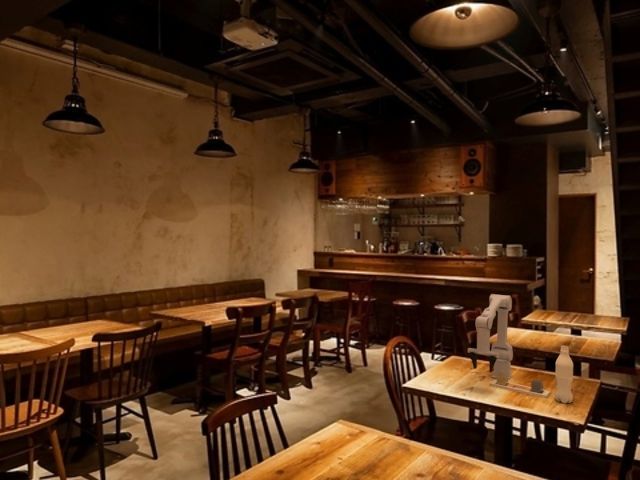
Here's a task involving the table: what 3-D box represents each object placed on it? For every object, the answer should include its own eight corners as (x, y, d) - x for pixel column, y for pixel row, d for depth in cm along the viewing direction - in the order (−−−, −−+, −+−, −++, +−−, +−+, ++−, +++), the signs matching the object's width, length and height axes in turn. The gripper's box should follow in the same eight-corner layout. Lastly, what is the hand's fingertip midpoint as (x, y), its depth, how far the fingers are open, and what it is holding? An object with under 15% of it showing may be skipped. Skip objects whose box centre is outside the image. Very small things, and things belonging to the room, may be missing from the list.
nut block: (533, 391, 219) (533, 379, 219) (542, 393, 217) (542, 380, 217) (531, 393, 216) (531, 381, 216) (540, 395, 214) (540, 382, 214)
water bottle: (572, 400, 208) (573, 345, 208) (573, 405, 202) (574, 348, 201) (554, 397, 211) (555, 343, 211) (555, 402, 205) (556, 347, 204)
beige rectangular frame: (494, 381, 233) (494, 379, 233) (550, 393, 216) (550, 391, 216) (489, 385, 227) (489, 383, 227) (546, 398, 210) (546, 395, 210)
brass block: (499, 384, 230) (499, 372, 229) (507, 386, 227) (508, 374, 227) (496, 386, 226) (497, 374, 226) (505, 388, 224) (505, 375, 224)
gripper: (465, 340, 221) (464, 368, 221) (495, 345, 211) (495, 375, 211) (471, 338, 226) (470, 365, 226) (501, 343, 216) (500, 371, 217)
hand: (482, 370), depth 219 cm, fingers open, 7 cm apart
